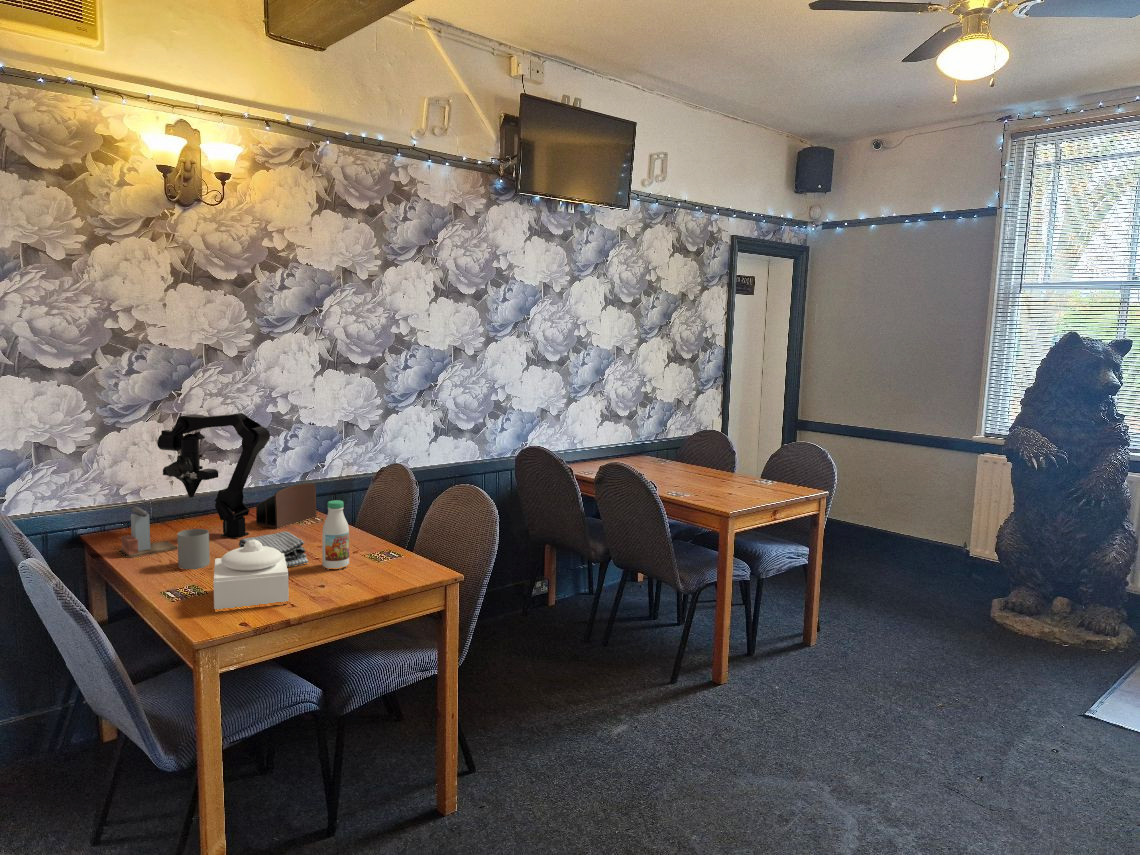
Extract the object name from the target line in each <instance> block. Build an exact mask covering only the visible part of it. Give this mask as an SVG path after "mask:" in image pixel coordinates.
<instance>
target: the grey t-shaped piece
mask: <svg viewBox="0 0 1140 855" xmlns="http://www.w3.org/2000/svg"><path fill="white" fill-rule="evenodd" d="M131 511H132V512H134V513H131V514H130V530H131V531H130V532H131V534H130V535H131V536H133V537H134V538H136V539H137V540H138V551H143V550H149V549H151V548H150V544H151V531H150V530H151V528H150V523H151V522H150V514H149V513H148V512H147V511H146V510H144V509H142V508H140V507H138V506H136V505H135V506H133V507H132V509H131Z"/></svg>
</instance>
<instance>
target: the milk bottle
mask: <svg viewBox="0 0 1140 855" xmlns="http://www.w3.org/2000/svg"><path fill="white" fill-rule="evenodd" d="M344 506H345V505H344V501H343V500H336V499H335V500H329V501H327V510H328V511H327V515H326V518H325V521H324V523H323V526H322V540H321V543H322V545H321V546H322V547H321V548H322V549H321V550H322V551H321V553H322V555H321V558H322V559H321V560H322V567H323V566H324V567H326V568H340V567H344V566H347V565H348V564H349V565H350V530H349V528H350V527H349V523H348V521H347V519H346V517H345V514H344V509H345V508H344ZM324 567H323V568H324Z"/></svg>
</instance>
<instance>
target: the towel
mask: <svg viewBox="0 0 1140 855" xmlns="http://www.w3.org/2000/svg"><path fill="white" fill-rule="evenodd" d="M248 540H258V541H259V542H261V543H262V546H267V547H272V548H275V549H277V550H279V551H280V552H281V553H284V556H285V560H286V565H287V567H289V566H294V567H296V566H295V565H300V564H304V563H308V564H309V561H308V558H307V554H306V549H305V547H303V545H304V544H305V541H303V539H301V538H299V537H297V536H296V535H294V534H292V533H291V532H289V531H281V532H276V533H273V534H263V535H258V536H253V537H246V538H241V539H240V540H239V542H238V546H239V548H241V547H244V544H245V543H246V542H247V541H248ZM300 566H301V565H300ZM289 568H290V567H289Z"/></svg>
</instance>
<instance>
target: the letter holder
mask: <svg viewBox="0 0 1140 855" xmlns="http://www.w3.org/2000/svg"><path fill="white" fill-rule="evenodd" d="M255 507H256V508H255V509H256V510H255V511H256V513H255V514H256V515H255V519H256V520H255V521H256V522H255V526H257V525H259V526H258V527H263V526H264V527H263V528H268V527H270V528H269V529H274V528H276V529H275V530H278V529H277V528H279V529H281V528H280V527H282V528H284V527H283V526H285V527H287V526H286V525H289V526H291V525H290V524H292V525H294V524H293V523H296V522H299V523H301V522H300V521H302V522H304V521H303V520H306V519H309V518H312V517H316V518H317V487H316V484H315V482H308V483H307V482H305V483H300V484H294V485H290V486H287V487H285V488H282V489H280V490H277V491H276V492H274V495H271V496H268V497H267V498H266V499H265V500H263V501H260V502H259V503H258V504H256V506H255ZM312 519H313V518H312ZM309 520H310V519H309ZM306 521H307V520H306ZM296 524H297V523H296Z"/></svg>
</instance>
